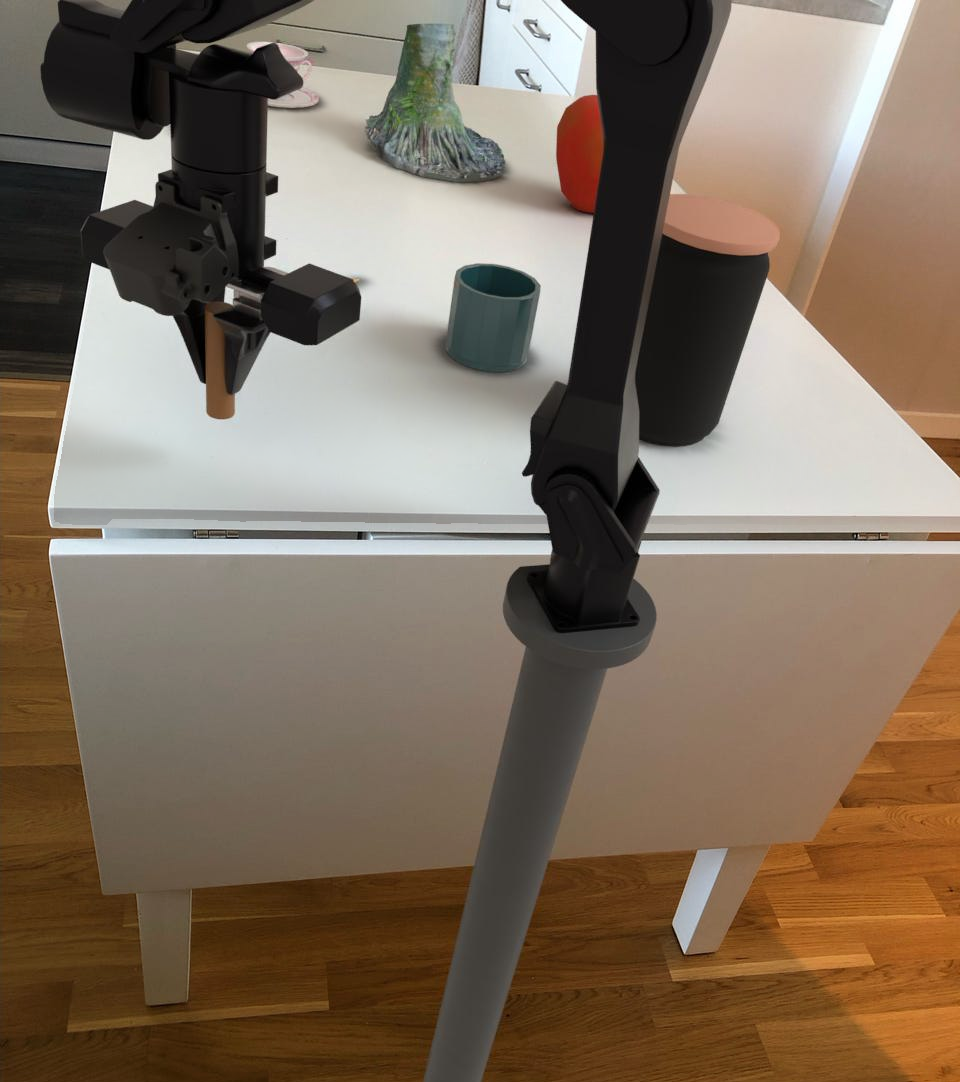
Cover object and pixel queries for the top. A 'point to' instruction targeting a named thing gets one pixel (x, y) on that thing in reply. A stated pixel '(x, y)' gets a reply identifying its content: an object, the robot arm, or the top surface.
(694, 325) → the coffee jar
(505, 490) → the top surface
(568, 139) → the apple
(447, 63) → the tree stump
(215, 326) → the tan wooden dowel
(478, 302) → the teal cup
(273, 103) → the teacup
